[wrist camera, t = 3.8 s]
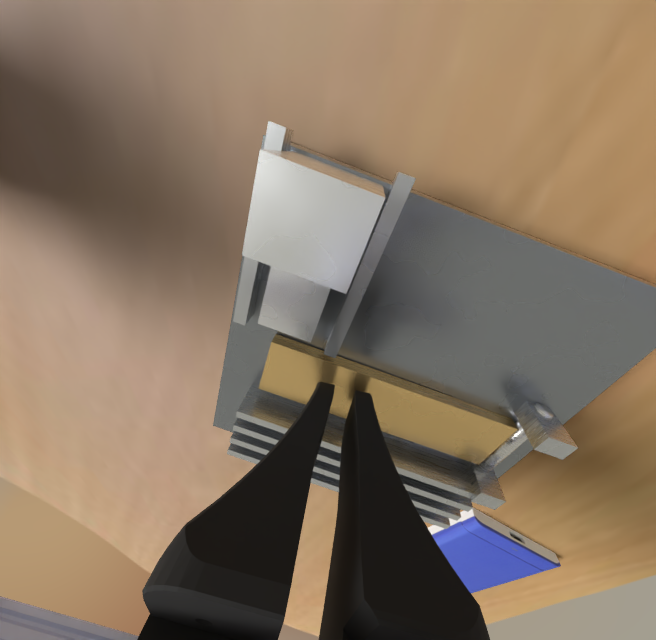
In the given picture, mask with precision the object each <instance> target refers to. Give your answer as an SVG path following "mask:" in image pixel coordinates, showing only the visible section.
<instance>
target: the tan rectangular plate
mask: <svg viewBox="0 0 656 640" xmlns="http://www.w3.org/2000/svg"><path fill="white" fill-rule="evenodd" d="M320 381H321V382H325V383H329V384H334V385H335V389H334V395H333V400H332V404H331V408H330V412H329V413H331V414H334V415H337V416H339V417H342V418H345V419H346V418H347V415H348V412H349V409H350V406H351V402H352V399H353V396H354V393H355V390H358V391H362V392H366V393H370V394H371V395H372V399H373V403H374V408H375V411H376V415H377V418H378V422H379V425H380V428H381V431H383V432H386V433H388V434H391V435H394V436H397V437H400V438H403V439H406V440H409V441H412V442H414V443H417V444H420V445H423V446H426V447H429V448H432V449H435V450H438V451H440V452H443V453H446V454H449V455H452V456H455V457H458V458H461V459H463V460H466V461H469V462H472V463H475V464H478V465H479V464H480V463H482V462H483V461H484V460H485V459H486V458H487V457H488V456H489V455H490V454H491V453H492V452H494V451H495V450H496V449H497V448H498V447H499V446H500V445H501V444H502V443H503V442H504V441H506V440H507V439H508V438H509V437H510V436H511V435H512V434H513V433H514V432H515V431H516V430H518V429H517V427H516V425H515V423H514V421H513V419H512V418H510V417H507V416H505V415H502V414H499V413H496V412H493V411H491V410H488V409H485V408H482V407H479V406H477V405H474V404H471V403H468V402H465V401H462V400H460V399H457V398H454V397H451V396H448V395H446V394H443V393H440V392H437V391H434V390H432V389H429V388H426V387H423V386H420V385H418V384H415V383H412V382H409V381H406V380H404V379H401V378H398V377H395V376H392V375H390V374H387V373H384V372H381V371H378V370H376V369H373V368H370V367H367V366H364V365H361V364H359V363H356V362H353V361H350V360H347V359H345V358H342V357H339V356H336V358H333V357H330V356H327V355H325V354H324V351H322V350H319V349H317V348H314V347H311V346H308V345H305V344H303V343H300V342H297V341H294V340H291V339H289V338H286V337H283V336H280V335H277V334H276V335H275V336H274V338H273V340H272V342H271V345H270V349H269V352H268V356H267V360H266V363H265V367H264V370H263V374H262V378H261V381H260V385H259V389H261V390H264V391H267V392H270V393H273V394H276V395H279V396H282V397H285V398H287V399H290V400H293V401H296V402H299V403H302V404H305V405H306V404H307V403H308V401H309V399H310V398H311V396H312V394H313V392H314V390H315V388H316V386H317V383H318V382H320Z"/></svg>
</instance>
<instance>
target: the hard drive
mask: <svg viewBox="0 0 656 640" xmlns="http://www.w3.org/2000/svg"><path fill="white" fill-rule="evenodd" d="M460 514H461V518H460V519H458V520H457V521H456V520H453V519H450V518H449V521H450V527H448V528H447V529H444V528H442V527H439V526H436V525H433V526H431V527H429V528H428V530H429V531H430V533H431V535H432V536H433V538H434V540H435V541H436V543H437V545H438V546H439V548H440V549H441V551H442V552H443V554H444V555H445V557H446V558H447V560H448V562H449V563H450V565H451V566H452V568H453V569H454V570H455V572H456V573H457V575H458V576H459V578H460V579H461V581H462V582H463V583H464V585H465V586H466V588H467V589H468V590H469V592H470V593H473V592H477V591H480V590H483V589H487V588H490V587H493V586H497V585H500V584H504V583H507V582H510V581H514V580H517V579H520V578H524V577H527V576H530V575H533V574H537V573H540V572H543V571H546V570H550V569H553V568H556V567H560V566H561V565H560V563H559V560H558V558H557V556H556V554H555V553H554V552H552V551H550V550H548V549H546V548H545V547H543V546H541V545H539V544H537V543H536V542H534V541H532V540H530V539H528V538H527V537H525V536H523V535H521V534H520V533H518V532H516V531H514V530H512V529H510V528H509V527H507V526H505V525H503V524H501V523H500V522H498V521H496V520H494V519H493V518H491V517H489V516H487V515H485V514H484V513H482V512H480V511H478V510H477V509H475V508H472V509H471V510H470V511H468V512H467V511H465V510H464V511H462V512H460Z"/></svg>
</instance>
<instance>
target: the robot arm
mask: <svg viewBox="0 0 656 640" xmlns="http://www.w3.org/2000/svg"><path fill="white" fill-rule="evenodd" d="M334 389H335V385H334V384H329V383H325V382H321V381H320V382H318V383H317V386H316V388H315V390H314V392H313V394H312V396H311V398H310V399H309V401H308V403H307V404H306V406H305V407H304V409H303V410H302V412H301V413H300V415H299V416H298V418H297V419H296V420H295V422H294V423H293V424H292V425H291V427H290V428H289V429H288V430H287V432H286V433H285V434H284V436H283V437H282V438H281V439H280V440H279V441H278V443H277V444H276V445H275V446H274V447H273V448H272V449H271V450H270V451H269V452H268V453H267V455H266V456H265V457H264V458H263V459H262V460H261V461H260V462H259V463H258V464H257V465H256V466H255V467H254V468H253V469H252V470H251V471H249V472H248V473H247V474H246V475H245V476H244V477H243V478H242V479H241V480H240V481H238V482H237V483H236V484H235V485H234V486H233V487H232V488H230V489H229V490H228V491H227V492H226V493H225V494H223V495H222V496H221V497H220V498H219V499H217V500H216V501H215V502H214V503H212V504H211V505H210V506H209V507H207V508H206V509H205V510H203V511H202V512H201V513H200V514H198V515H197V516H196V517H194V518H193V519H192V520H190V521H189V522H188V523H187V524H186V525H185V526H184V527H183V528H182V529H181V531H180V532H179V533H178V534H177V536H176V537H175V538H174V539H173V541H172V542H171V543H170V545H169V546H168V547H167V549H166V550H165V552H164V553H163V555H162V556H161V558H160V560H159V561H158V563H157V565H156V566H155V568H154V570H153V572H152V574H151V576H150V578H149V579H148V581H147V583H146V585H145V587H144V589H143V599H144V601H145V604H146V606H147V608H148V610H149V612H150V615H149V617H148V619H147V621H146V623H145V625H144V627H143V629H142V631H141V633H140V635H139V636H136V635H133V634H129V633H126V632H122V631H119V630H115V629H112V628H108V627H105V626H101V625H98V624H95V623H91V622H88V621H84V620H81V619H77V618H74V617H70V616H66V615H63V614H60V613H56V612H53V611H49V610H46V609H42V608H39V607H35V606H32V605H29V604H25V603H21V602H18V601H15V600H11V599H8V598H4V597H1V596H0V640H278V637H279V633H280V631H281V628H282V625H283V622H284V617H285V612H286V608H287V603H288V598H289V593H290V588H291V583H292V577H293V572H294V566H295V561H296V556H297V550H298V545H299V540H300V534H301V529H302V524H303V519H304V513H305V508H306V503H307V498H308V493H309V488H310V482H311V477H312V472H313V468H314V465H315V462H316V458H317V455H318V452H319V448H320V445H321V442H322V438H323V434H324V430H325V427H326V423H327V419H328V415H329V412H330V408H331V404H332V400H333V395H334ZM319 640H490V638H489V634H488V631H487V628H486V624H485V621H484V618H483V615H482V612H481V609H480V606H479V604H478V603H477V602H476V600H475V599H474V597H473V596H472V595H471V593H470V592H469V590H468V589H467V588H466V586H465V585H464V583H463V582H462V581H461V579H460V578H459V576H458V575H457V573H456V572H455V570H454V569H453V568H452V566H451V565H450V563H449V562H448V560H447V558H446V557H445V555H444V554H443V552H442V551H441V549H440V548H439V546H438V545H437V543H436V541H435V540H434V538H433V536H432V535H431V533H430V531H429V530H428V528H427V526H426V525H425V523H424V521H423V520H422V518H421V516H420V515H419V513H418V511H417V509H416V507H415V506H414V504H413V502H412V500H411V498H410V496H409V494H408V492H407V490H406V488H405V486H404V484H403V482H402V480H401V478H400V476H399V474H398V472H397V469H396V467H395V465H394V462H393V460H392V458H391V455H390V453H389V450H388V448H387V445H386V442H385V439H384V437H383V434H382V431H381V428H380V425H379V422H378V418H377V415H376V411H375V408H374V403H373V399H372V395H371V394H370V393H366V392H362V391H358V390H355V393H354V396H353V399H352V402H351V406H350V409H349V412H348V415H347V418H346V421H345V426H344V432H343V439H342V445H341V460H340V478H339V497H338V511H337V520H336V528H335V535H334V542H333V549H332V556H331V563H330V570H329V577H328V584H327V590H326V597H325V603H324V610H323V616H322V623H321V629H320V635H319Z"/></svg>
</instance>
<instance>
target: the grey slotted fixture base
mask: <svg viewBox="0 0 656 640" xmlns="http://www.w3.org/2000/svg"><path fill="white" fill-rule="evenodd" d="M292 134H293V130H292V129H289V128H286V127H284V126H281V125H279V124H276V123H273V122H270V121H268V127H267V133H266V135H263V141H262V147H261V149H262V150H276V151H290V152H298V153H301V154H303V155H306V156H309V157H311V158H314V159H316V160H319V161H321V162H324V163H327V164H329V165H332V166H334V167H337V168H340V169H342V170H345V171H347V172H350V173H352V174H355V175H358V176H360V177H363V178H365V179H368V180H370V181H373V182H376V183H378V184H381V185H383V189H384V194H385V200H384V203H383V205H382V208H381V210H380V212H379V215H378V217H377V220H376V222H375V225H374V227H373V230H372V232H371V234H370V237H369V239H368V242H367V244H366V247H365V249H364V252H363V254H362V256H361V259H360V261H359V264H358V266H357V269H356V271H355V274H354V276H353V278H352V281H351V283H350V286H349V288H348V291H347V293H346V294H345V293H342V292H339V291H337V290H334V289H330V292H329V295H328V297H327V300H326V303H325V306H324V308H323V311H322V314H321V316H320V319H319V322H318V324H317V327H316V330H315V332H314V335H313V338H312V340H311V343H310V342H307V341H305V340H302V339H299V338H296V337H294V336H291V335H288V334H285V333H283V332H280V331H277V330H274V329H272V328H269V327H266V326H263V325H260V324H258V320H259V315H260V311H261V307H262V303H263V298H264V294H265V290H266V286H267V281H268V277H269V273H270V269H271V266H269V265H267V264H264V263H261V262H259V261H256V260H253V259H251V258H248V257H245V256H242V262H241V268H240V273H239V279H238V285H237V291H236V297H235V302H234V308H233V314H232V320H231V325H230V331H229V337H228V343H227V348H226V354H225V360H224V366H223V372H222V377H221V383H220V389H219V395H218V400H217V406H216V412H215V418H214V423H213V426H216V427H219V428H222V429H224V430H227V431H230V432H233V434H232V436H231V439H230V443H231V445H230V447H229V449H228V452H227V454H229V455H232V456H235V457H237V458H240V459H243V460H246V461H249V462H252V463H255V464H258V463H259V462H260V461H261V460H262V459H263V458H264V457H265V456H266V455H267V453H268V452H269V451H270V450H271V449H272V448H273V447H274V446H275V445H276V444H277V443H278V441H279V440H280V439H281V438H282V437H283V436H284V434H285V433H286V432H287V430H288V429H289V428H290V427H291V425H292V424H293V423H294V422H295V420H296V419H297V418H298V416H299V415H300V413H301V412H302V410H303V409H304V407H305V406H306V405H305V404H302V403H299V402H296V401H293V400H290V399H287V398H285V397H282V396H279V395H276V394H273V393H270V392H267V391H264V390H261V389H259V385H260V381H261V378H262V374H263V370H264V367H265V363H266V360H267V356H268V352H269V349H270V345H271V342H272V340H273V338H274V336H275V335H276V334H277V335H280V336H283V337H286V338H289V339H291V340H294V341H297V342H300V343H303V344H305V345H308V346H311V347H314V348H317V349H319V350H322V351H324V354H325V355H327V356H330V357H333V358H336V356H339V357H342V358H345V359H347V360H350V361H353V362H356V363H359V364H361V365H364V366H367V367H370V368H373V369H376V370H378V371H381V372H384V373H387V374H390V375H392V376H395V377H398V378H401V379H404V380H406V381H409V382H412V383H415V384H418V385H420V386H423V387H426V388H429V389H432V390H434V391H437V392H440V393H443V394H446V395H448V396H451V397H454V398H457V399H460V400H462V401H465V402H468V403H471V404H474V405H477V406H479V407H482V408H485V409H488V410H491V411H493V412H496V413H499V414H502V415H505V416H507V417H510V418H512V419H513V421H514V423H515V425H516V427H517V429H518V430H516V431H515V432H514V433H513V434H512V435H511V436H510V437H509V438H508V439H507V440H506V441H504V442H503V443H502V444H501V445H500V446H499V447H498V448H497V449H496V450H495V451H494V452H492V453H491V454H490V455H489V456H488V457H487V458H486V459H485V460H484V461H483V462H482V463H480V464H479V465H478V464H475V463H472V462H469V461H466V460H463V459H461V458H458V457H455V456H452V455H449V454H446V453H443V452H440V451H438V450H435V449H432V448H429V447H426V446H423V445H420V444H417V443H414V442H412V441H409V440H406V439H403V438H400V437H397V436H394V435H391V434H388V433H386V432H383V431H382V434H383V437H384V439H385V442H386V445H387V448H388V450H389V453H390V455H391V458H392V460H393V462H394V465H395V467H396V469H397V472H398V474H399V476H400V478H401V480H402V482H403V484H404V486H405V488H406V490H407V492H408V494H409V496H410V498H411V500H412V502H413V504H414V506H415V507H416V509H417V511H418V513H419V515H420V516H421V518H422V520H423V521H424V522H427V523H430V524H433V525H436V526H439V527H442V528H444V529H447V528H448V527H450V521H449V518H450V519H453V520H456V521H457V520H458V519H460V518H461V514H460V509H462V510H465V511H467V512H468V511H470V510H471V509H472V508H473V506H472V503H471V502H474V503H477V504H480V505H483V506H486V507H488V508H491V509H494V510H495V509H497V508H498V507H499V506H501V505H502V504H503V503H505V502H506V500H505V497H504V495H503V492H502V489H501V487H500V484H499V482H498V478H499V477H500V476H501V475H503V474H504V473H505V472H506V471H508V470H509V469H510V468H511V467H512V466H514V465H515V464H516V463H517V462H518V461H520V460H521V459H522V458H523V457H524V456H526V455H527V454H528V453H529V452H531V451H532V450H533V449H534V450H537V451H539V452H542V453H545V454H548V455H551V456H553V457H556V458H559V459H562V460H563V459H564V458H566V457H567V456H568V455H570V454H571V453H572V452H574V451H575V450H576V449H578V446H577V445H576V444H575V442H574V441H573V439H572V438H571V436H570V435H569V434H568V432H567V431H566V429H565V428H564V426H563V424H564V423H566V422H567V421H568V420H569V419H570V418H572V417H573V416H574V415H575V414H577V413H578V412H579V411H580V410H581V409H583V408H584V407H585V406H586V405H587V404H589V403H590V402H591V401H592V400H593V399H595V398H596V397H597V396H598V395H600V394H601V393H602V392H603V391H604V390H606V389H607V388H608V387H609V386H610V385H612V384H613V383H614V382H615V381H616V380H618V379H619V378H620V377H621V376H623V375H624V374H625V373H626V372H627V371H629V370H630V369H631V368H632V367H633V366H635V365H636V364H637V363H638V362H640V361H641V360H642V359H643V358H644V357H646V356H647V355H648V354H649V353H650V352H652V351H653V350H654V349H655V348H656V284H654V283H651V282H649V281H646V280H644V279H641V278H638V277H636V276H633V275H631V274H628V273H626V272H623V271H621V270H618V269H615V268H613V267H610V266H608V265H605V264H603V263H600V262H597V261H595V260H592V259H590V258H587V257H585V256H582V255H579V254H577V253H574V252H572V251H569V250H567V249H564V248H561V247H559V246H556V245H554V244H551V243H549V242H546V241H543V240H541V239H538V238H536V237H533V236H531V235H528V234H526V233H523V232H520V231H518V230H515V229H513V228H510V227H508V226H505V225H502V224H500V223H497V222H495V221H492V220H490V219H487V218H484V217H482V216H479V215H477V214H474V213H472V212H469V211H466V210H464V209H461V208H459V207H456V206H454V205H451V204H449V203H446V202H443V201H441V200H438V199H436V198H433V197H431V196H428V195H425V194H423V193H420V192H418V191H415V190H413V189H411V188H412V186H413V184H414V182H415V179H416V178H414V177H412V176H409V175H407V174H404V173H401V172H399V171H397V173H396V175H395V177H394V180H393V182H392V181H389V180H387V179H384V178H382V177H379V176H377V175H374V174H371V173H369V172H366V171H364V170H361V169H359V168H356V167H354V166H351V165H348V164H346V163H343V162H341V161H338V160H336V159H333V158H330V157H328V156H325V155H323V154H320V153H318V152H315V151H312V150H310V149H307V148H305V147H302V146H300V145H297V144H294V143H292V142H291V139H292ZM345 421H346V419H345V418H342V417H339V416H337V415H334V414H331V413H329V415H328V419H327V423H326V427H325V430H324V434H323V438H322V442H321V445H320V448H319V452H318V455H317V458H316V462H315V465H314V468H313V472H312V477H311V482H310V483H313V484H316V485H319V486H322V487H325V488H328V489H331V490H334V491H337V492H339V478H340V460H341V445H342V439H343V432H344V426H345Z"/></svg>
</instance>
